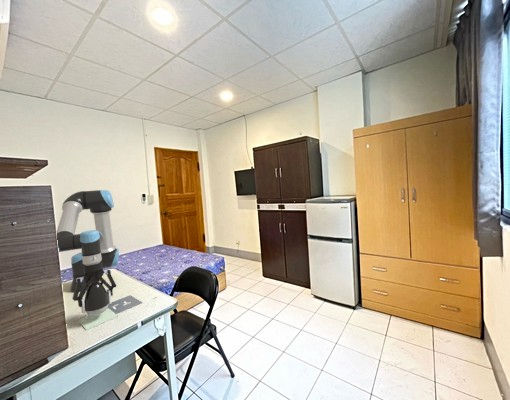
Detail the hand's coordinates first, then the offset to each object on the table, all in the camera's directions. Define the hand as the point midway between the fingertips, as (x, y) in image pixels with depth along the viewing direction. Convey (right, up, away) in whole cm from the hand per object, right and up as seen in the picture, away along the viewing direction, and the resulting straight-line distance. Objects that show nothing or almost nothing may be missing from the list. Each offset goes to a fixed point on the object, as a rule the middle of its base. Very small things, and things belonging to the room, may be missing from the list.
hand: (97, 307), depth 111 cm
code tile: (+4, -5, +13) cm, 14 cm away
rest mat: (0, -6, 0) cm, 6 cm away
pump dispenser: (0, -3, 0) cm, 3 cm away
